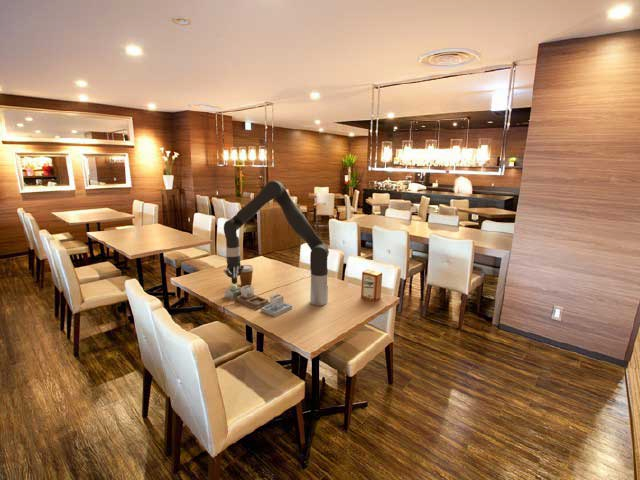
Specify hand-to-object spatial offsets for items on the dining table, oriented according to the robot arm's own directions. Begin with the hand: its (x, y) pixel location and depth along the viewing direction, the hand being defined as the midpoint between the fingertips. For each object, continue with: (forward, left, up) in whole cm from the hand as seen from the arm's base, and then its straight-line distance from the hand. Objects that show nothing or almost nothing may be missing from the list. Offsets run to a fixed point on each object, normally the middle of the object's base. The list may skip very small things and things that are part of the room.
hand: (234, 283), depth 187 cm
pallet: (-1, +14, -8) cm, 16 cm away
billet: (-3, +31, -7) cm, 32 cm away
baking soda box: (-51, +61, -8) cm, 80 cm away
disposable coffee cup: (-17, -10, -8) cm, 21 cm away
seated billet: (-1, +10, -7) cm, 12 cm away
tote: (-3, +31, -8) cm, 32 cm away
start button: (0, 0, -6) cm, 6 cm away
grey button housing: (0, 0, -8) cm, 8 cm away
